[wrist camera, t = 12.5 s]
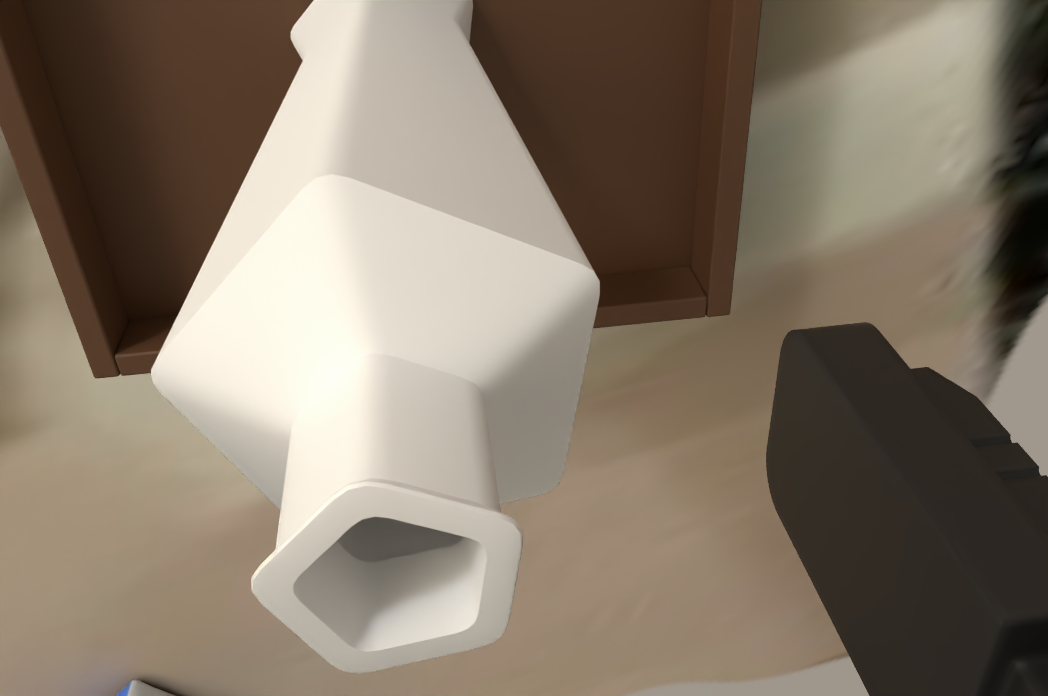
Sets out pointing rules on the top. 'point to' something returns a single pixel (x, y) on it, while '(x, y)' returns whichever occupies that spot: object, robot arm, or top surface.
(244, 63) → the tray
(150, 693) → the medicine box
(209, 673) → the top surface
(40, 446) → the top surface
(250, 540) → the top surface
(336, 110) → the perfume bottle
